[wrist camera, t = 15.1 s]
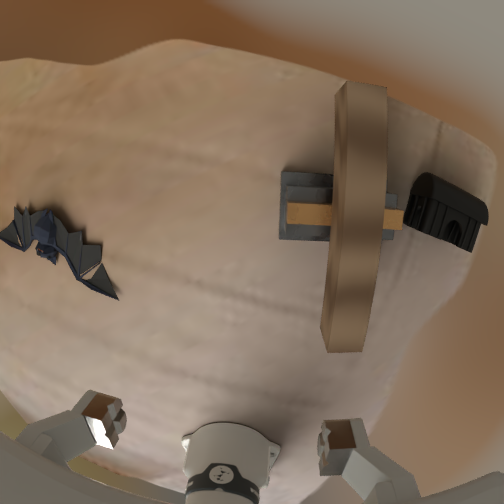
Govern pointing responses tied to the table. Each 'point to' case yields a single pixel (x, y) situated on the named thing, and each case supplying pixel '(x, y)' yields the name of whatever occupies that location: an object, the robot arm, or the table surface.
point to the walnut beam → (355, 214)
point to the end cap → (445, 211)
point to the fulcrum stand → (320, 208)
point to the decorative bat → (58, 246)
